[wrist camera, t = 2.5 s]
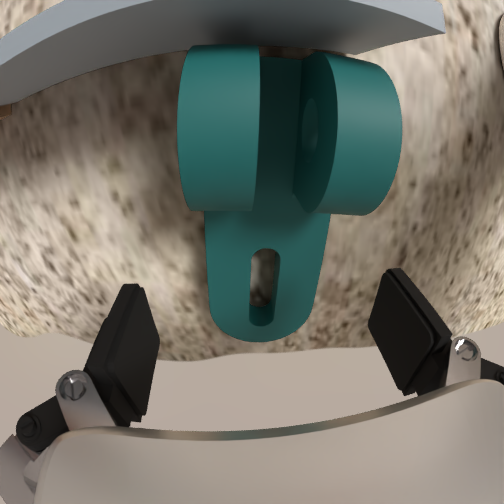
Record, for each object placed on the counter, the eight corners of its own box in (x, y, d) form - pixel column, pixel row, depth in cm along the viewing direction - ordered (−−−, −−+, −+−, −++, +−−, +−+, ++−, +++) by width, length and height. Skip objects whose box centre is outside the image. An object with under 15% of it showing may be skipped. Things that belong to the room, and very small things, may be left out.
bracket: (209, 62, 12) (179, 25, 5) (332, 71, 12) (409, 54, 6) (214, 320, 21) (208, 409, 14) (299, 319, 22) (318, 405, 15)
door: (354, 36, 11) (443, 3, 4) (354, 55, 11) (447, 33, 4) (7, 91, 10) (-78, 113, 3) (8, 107, 11) (-77, 134, 4)
